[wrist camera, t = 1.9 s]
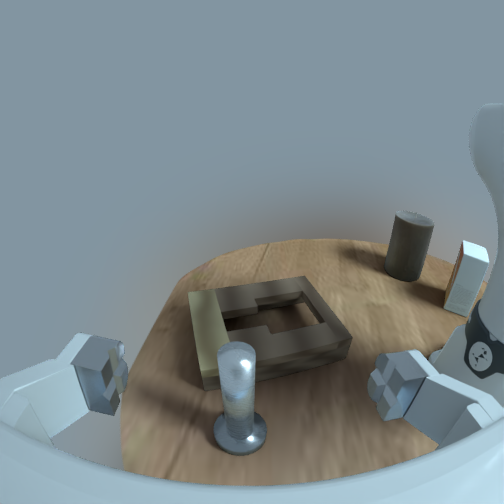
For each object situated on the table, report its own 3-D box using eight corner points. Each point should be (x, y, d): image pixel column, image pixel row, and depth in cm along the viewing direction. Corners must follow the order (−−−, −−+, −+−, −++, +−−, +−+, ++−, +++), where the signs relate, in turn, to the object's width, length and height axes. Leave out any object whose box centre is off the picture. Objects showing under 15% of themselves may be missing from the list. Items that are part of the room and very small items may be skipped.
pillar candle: (414, 286, 55) (432, 223, 48) (377, 271, 61) (391, 209, 54) (423, 270, 61) (438, 214, 54) (390, 257, 67) (402, 202, 60)
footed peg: (258, 409, 31) (262, 323, 24) (272, 449, 26) (285, 375, 19) (210, 418, 30) (193, 334, 23) (220, 459, 25) (204, 391, 18)
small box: (445, 290, 53) (462, 239, 47) (467, 298, 50) (486, 248, 44) (442, 309, 47) (463, 252, 41) (467, 318, 44) (490, 262, 38)
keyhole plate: (302, 295, 53) (304, 275, 51) (345, 358, 39) (352, 337, 37) (190, 313, 48) (187, 292, 46) (204, 391, 34) (200, 370, 32)
